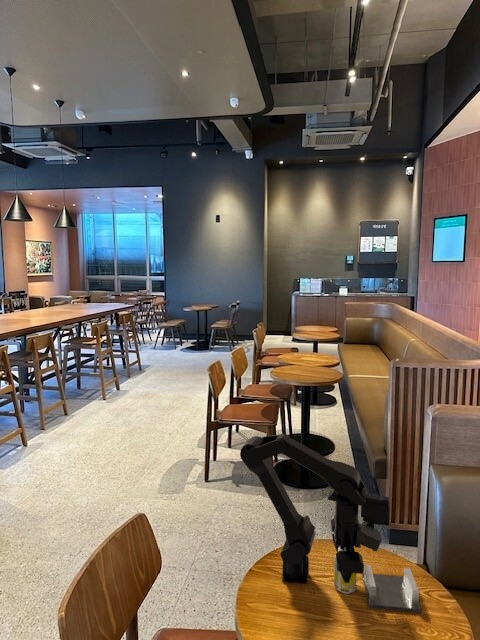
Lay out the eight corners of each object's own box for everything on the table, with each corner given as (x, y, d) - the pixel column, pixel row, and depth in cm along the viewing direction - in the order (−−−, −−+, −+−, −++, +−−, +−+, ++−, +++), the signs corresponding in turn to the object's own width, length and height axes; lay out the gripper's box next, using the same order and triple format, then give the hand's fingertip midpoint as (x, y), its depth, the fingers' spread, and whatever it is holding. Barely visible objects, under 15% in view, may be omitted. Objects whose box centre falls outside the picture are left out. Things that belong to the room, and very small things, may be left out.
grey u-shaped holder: (421, 612, 102) (421, 595, 101) (369, 608, 103) (369, 591, 103) (408, 580, 113) (409, 564, 112) (362, 576, 114) (362, 560, 114)
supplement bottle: (360, 587, 110) (361, 550, 109) (347, 598, 107) (348, 560, 105) (342, 576, 114) (343, 540, 113) (329, 585, 111) (330, 548, 110)
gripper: (387, 542, 98) (385, 604, 100) (372, 499, 117) (371, 553, 118) (337, 538, 100) (336, 600, 101) (331, 497, 118) (330, 550, 120)
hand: (345, 574), depth 110 cm, fingers closed on supplement bottle, 5 cm apart
